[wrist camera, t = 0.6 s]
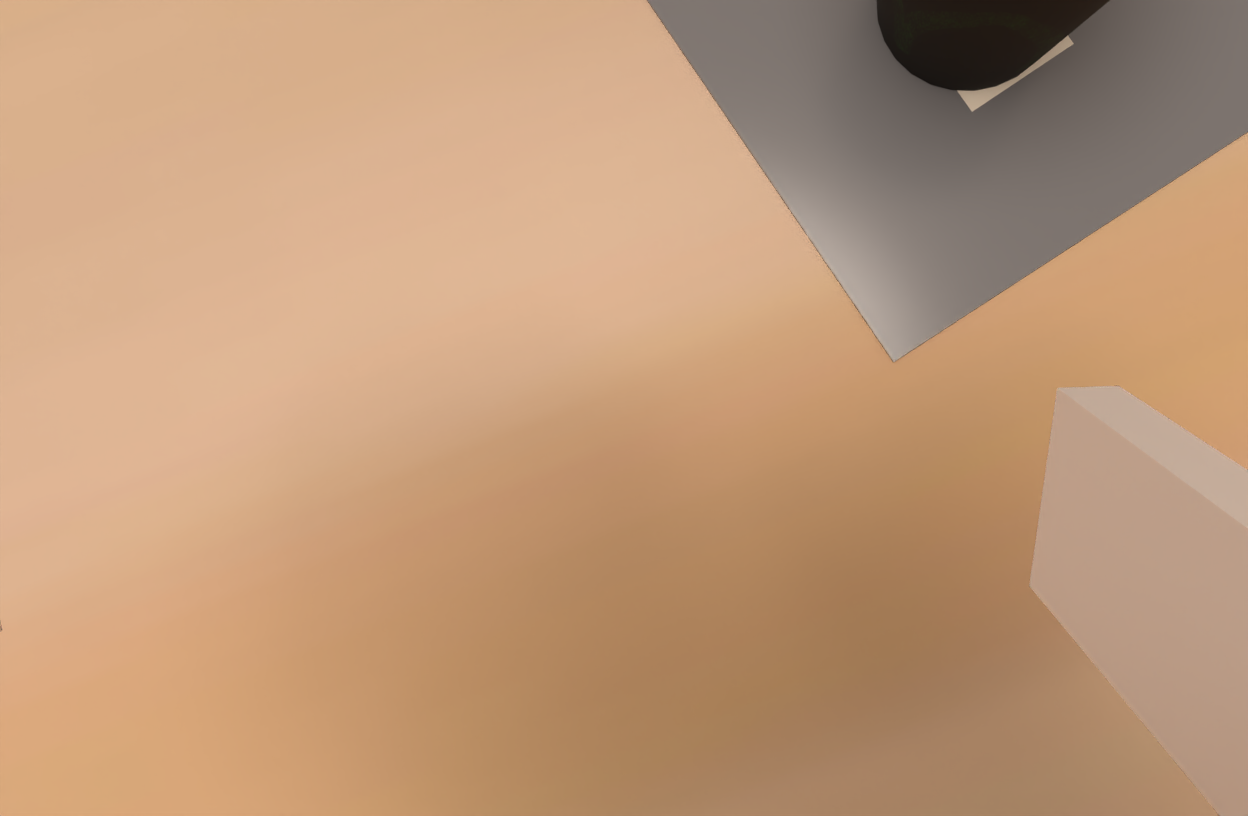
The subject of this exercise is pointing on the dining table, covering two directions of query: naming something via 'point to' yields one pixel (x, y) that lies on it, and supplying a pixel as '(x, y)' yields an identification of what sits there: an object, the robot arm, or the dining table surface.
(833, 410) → the dining table surface
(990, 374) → the dining table surface
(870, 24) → the tile
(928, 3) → the cup
